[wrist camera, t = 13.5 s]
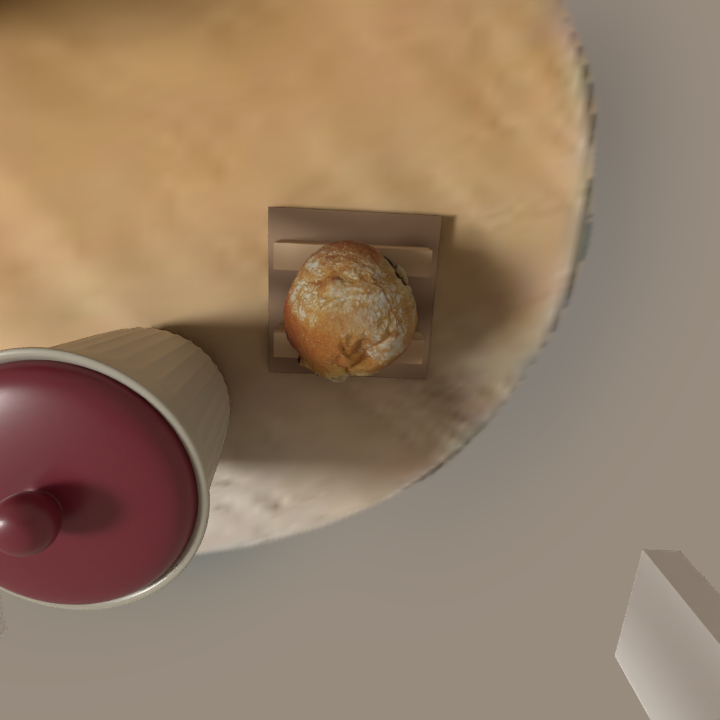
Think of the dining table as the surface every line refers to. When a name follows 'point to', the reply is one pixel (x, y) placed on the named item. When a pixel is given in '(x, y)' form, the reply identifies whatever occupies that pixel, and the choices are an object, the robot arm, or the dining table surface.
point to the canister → (106, 465)
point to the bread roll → (349, 311)
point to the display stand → (380, 230)
